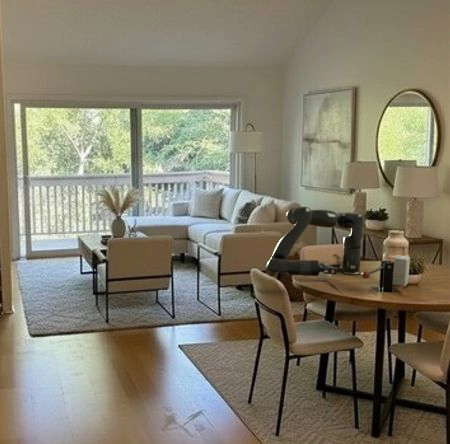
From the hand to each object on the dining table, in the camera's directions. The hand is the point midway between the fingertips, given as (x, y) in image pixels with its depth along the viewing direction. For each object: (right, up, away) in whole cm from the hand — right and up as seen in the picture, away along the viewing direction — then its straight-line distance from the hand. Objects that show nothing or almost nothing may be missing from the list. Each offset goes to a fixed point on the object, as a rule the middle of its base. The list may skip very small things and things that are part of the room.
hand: (342, 268), depth 271 cm
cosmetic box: (+33, -10, +12) cm, 37 cm away
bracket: (+21, -11, +1) cm, 24 cm away
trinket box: (-2, -8, +25) cm, 27 cm away
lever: (+17, -3, 0) cm, 17 cm away
